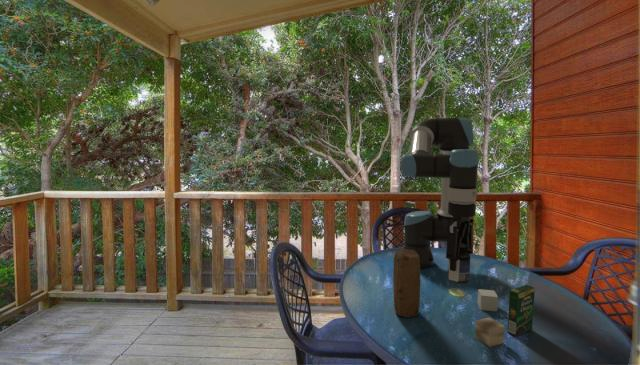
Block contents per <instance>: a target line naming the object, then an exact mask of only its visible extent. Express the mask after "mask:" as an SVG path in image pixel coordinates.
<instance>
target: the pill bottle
mask: <svg viewBox="0 0 640 365" xmlns="http://www.w3.org/2000/svg"><path fill="white" fill-rule="evenodd" d="M467 250H468V245H467V244H464V243H461V246H460V252H459V258H458V260H460V265H459V281H458V282H456V281H452V280H449V260H450V259H447V260H448V261H447V262H448V264H447V279H448V280H449V281H450V282H452V283H456V284H467V283H469V282H470V277H471V276H470V274H471V273H470V272H471V271H470V270H471V254H469V253H468V252H467Z"/></svg>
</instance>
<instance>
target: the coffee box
mask: <svg viewBox="0 0 640 365" xmlns="http://www.w3.org/2000/svg"><path fill="white" fill-rule="evenodd" d="M535 292H536V288H535V287H534V286H532V285H528V284H525V285H522V286H519V287H516V288H514V289H510V291H509V302H508V320H507V333H508V334H510V335H511V336H513V337H515V338H517V337H519V336H521V335H523V334H525V333H529V332H530V331H532V330H533V324H534V323H533V320H534V306H535Z"/></svg>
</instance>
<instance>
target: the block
mask: <svg viewBox="0 0 640 365" xmlns="http://www.w3.org/2000/svg"><path fill="white" fill-rule="evenodd" d="M393 258H394V259H393V269H392V270H393V271H392V272H393V275H392V276H393V277H392V278H393V280H392V281H393V282H392V286H393V288H392V290H393V306H394V312H395V313H396V315H398V316H400V317H404V318H413V317H415V316H418V315H419V311H420V307H421V306H420V304H421V302H420V300H421V268H420V257H419V255H418V254H417V252H416V251H414V250H412V249H403V248H402V249H397V250H396V251H395V253H394V257H393Z"/></svg>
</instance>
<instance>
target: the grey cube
mask: <svg viewBox="0 0 640 365" xmlns="http://www.w3.org/2000/svg"><path fill="white" fill-rule="evenodd" d="M477 305H478V307H479V309H480V310H479V311H489V312H498V306H499V296H498V295H497V293H496V291H495V290H492V289H482V288H480V289H477Z"/></svg>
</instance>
